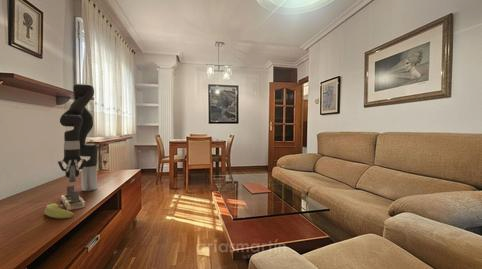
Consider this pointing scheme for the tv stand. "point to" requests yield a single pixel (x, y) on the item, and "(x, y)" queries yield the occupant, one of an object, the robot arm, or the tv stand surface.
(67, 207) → the pin board
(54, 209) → the banana
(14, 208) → the tv stand surface
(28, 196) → the tv stand surface
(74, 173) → the peg
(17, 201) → the tv stand surface
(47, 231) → the tv stand surface
